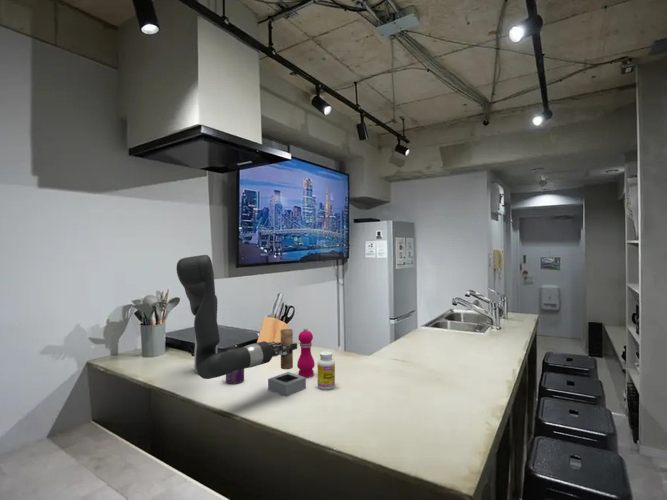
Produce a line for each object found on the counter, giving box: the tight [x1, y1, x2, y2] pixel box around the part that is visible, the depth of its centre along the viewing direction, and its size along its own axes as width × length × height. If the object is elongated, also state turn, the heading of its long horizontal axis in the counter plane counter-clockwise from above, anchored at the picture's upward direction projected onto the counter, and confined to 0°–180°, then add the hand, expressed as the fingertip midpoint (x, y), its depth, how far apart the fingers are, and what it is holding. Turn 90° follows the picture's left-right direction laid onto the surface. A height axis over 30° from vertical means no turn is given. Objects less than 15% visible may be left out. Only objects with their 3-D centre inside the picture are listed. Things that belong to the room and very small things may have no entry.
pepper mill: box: [296, 327, 315, 379], centre depth 151 cm, size 7×7×20 cm
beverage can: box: [225, 348, 245, 384], centre depth 145 cm, size 7×7×12 cm
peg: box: [280, 328, 294, 370], centre depth 136 cm, size 4×4×14 cm
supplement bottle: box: [317, 351, 336, 390], centre depth 138 cm, size 7×7×13 cm
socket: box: [267, 371, 307, 397], centre depth 137 cm, size 10×10×4 cm
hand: (291, 344), depth 139 cm, fingers closed on peg, 4 cm apart
